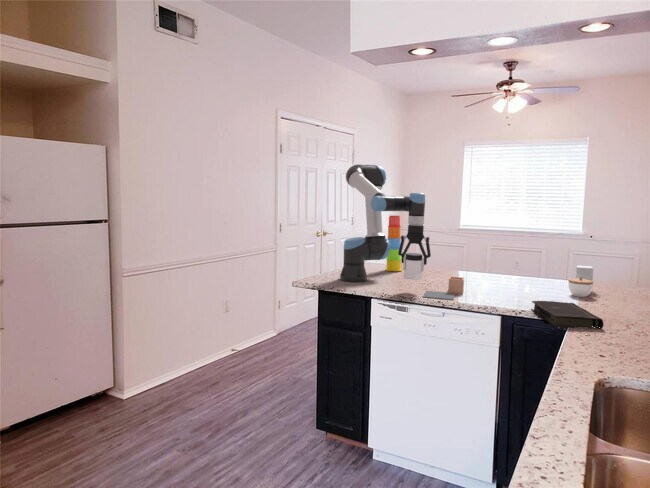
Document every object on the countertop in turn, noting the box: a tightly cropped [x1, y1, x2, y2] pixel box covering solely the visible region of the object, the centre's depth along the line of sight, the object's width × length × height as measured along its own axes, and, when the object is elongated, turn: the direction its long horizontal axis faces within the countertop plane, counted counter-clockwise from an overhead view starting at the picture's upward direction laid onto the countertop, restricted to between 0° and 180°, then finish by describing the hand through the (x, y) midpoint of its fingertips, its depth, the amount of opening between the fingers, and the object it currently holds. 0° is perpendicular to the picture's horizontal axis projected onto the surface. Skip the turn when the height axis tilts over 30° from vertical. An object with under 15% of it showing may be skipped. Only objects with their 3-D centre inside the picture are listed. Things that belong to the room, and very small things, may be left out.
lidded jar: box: [568, 277, 594, 298], centre depth 232 cm, size 11×11×9 cm
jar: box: [403, 252, 423, 281], centre depth 232 cm, size 9×8×12 cm
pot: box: [447, 276, 465, 295], centre depth 235 cm, size 7×7×7 cm
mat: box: [422, 290, 456, 301], centre depth 226 cm, size 14×14×1 cm
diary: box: [530, 300, 605, 329], centre depth 188 cm, size 19×25×5 cm
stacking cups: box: [385, 215, 403, 272], centre depth 293 cm, size 10×10×35 cm
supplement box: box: [575, 265, 594, 292], centre depth 244 cm, size 7×7×13 cm
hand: (413, 270), depth 232 cm, fingers closed on jar, 8 cm apart
